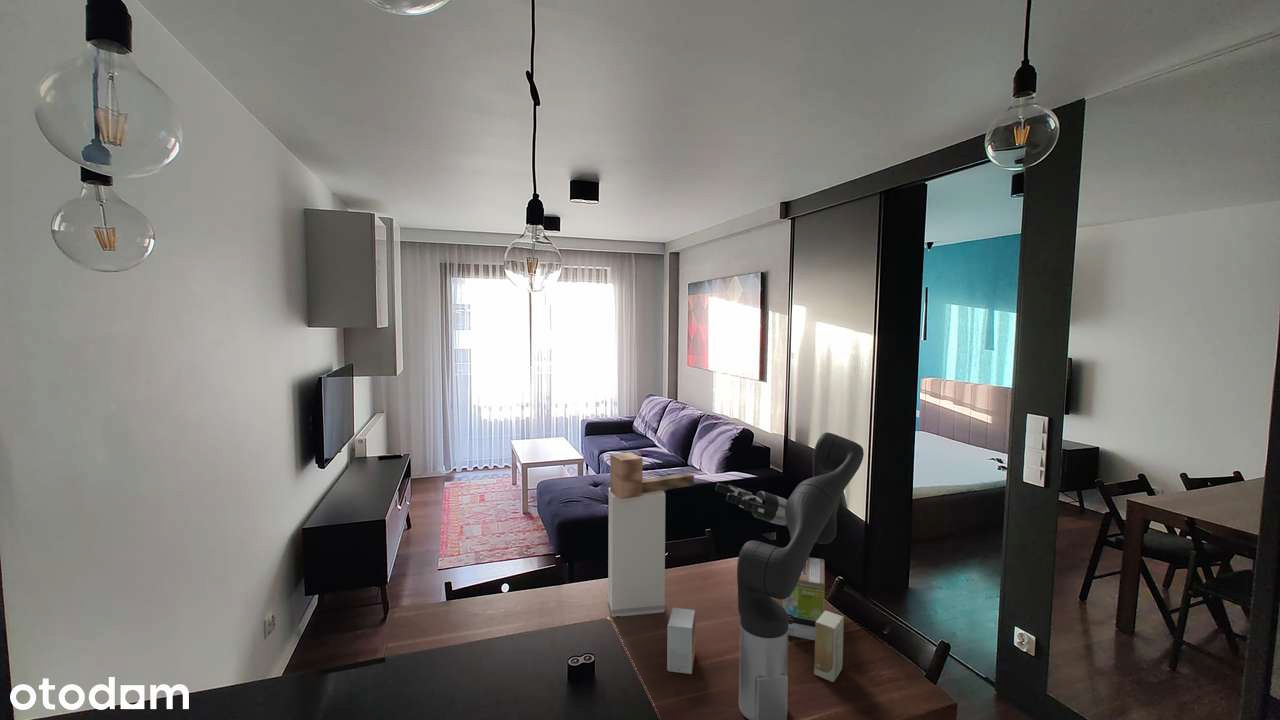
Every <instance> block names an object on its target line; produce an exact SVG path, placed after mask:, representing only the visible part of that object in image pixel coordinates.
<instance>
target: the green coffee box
mask: <svg viewBox="0 0 1280 720" xmlns="http://www.w3.org/2000/svg"><path fill="white" fill-rule="evenodd" d="M825 566H826V565H825V559H823V558H816V557H810V556H809V557H808V559H807V561H806V564H805V566H804V568H803V571H802V573H801V576H800V578H799V580H798V583H797V585H796V587H795V589H794V590H793V592H792V593H791V595H790V596H789V597H788V598H786V599H782V605H781V606H782V607H783V608H784V609H785V611H786V612H787V615H788V636H789V637H795V638H799V639H805V640H811V641H815V622H816V621H817V619H818V618H819V617H820V615H821V614H822V613H823V612H824V611H825V609H824V608H825V587H826V583H825V582H826V576H825V570H826V569H825V568H826V567H825Z"/></svg>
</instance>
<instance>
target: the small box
mask: <svg viewBox="0 0 1280 720" xmlns="http://www.w3.org/2000/svg"><path fill="white" fill-rule="evenodd" d="M666 628H667V629H666V630H667V631H666V633H667V634H666V635H667V641H666V642H667V643H666V645H667V647H666V648H667V649H666V650H667V651H666V654H667V655H666V657H667V658H666V663H667V664H666V668H667V669H666V671H667V672H673V673H679V674H680V673H681V674H689V675H692V674H693V667H694V661H695V654H696V610H695V609H689V608H688V609H687V608H679V607H671V612H670V616H669V620H668V624H667V627H666Z"/></svg>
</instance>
